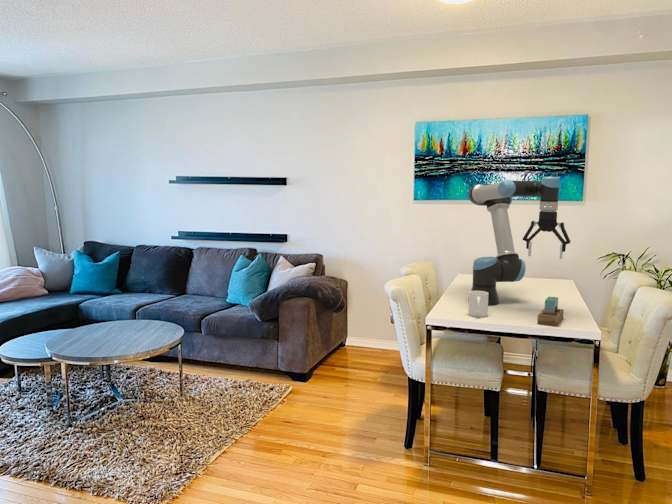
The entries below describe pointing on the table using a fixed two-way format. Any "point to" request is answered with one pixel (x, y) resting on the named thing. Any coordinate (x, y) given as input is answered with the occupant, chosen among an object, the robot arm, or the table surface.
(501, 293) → the table surface
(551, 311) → the tall teal block
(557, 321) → the brown wooden frame
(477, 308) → the mug
